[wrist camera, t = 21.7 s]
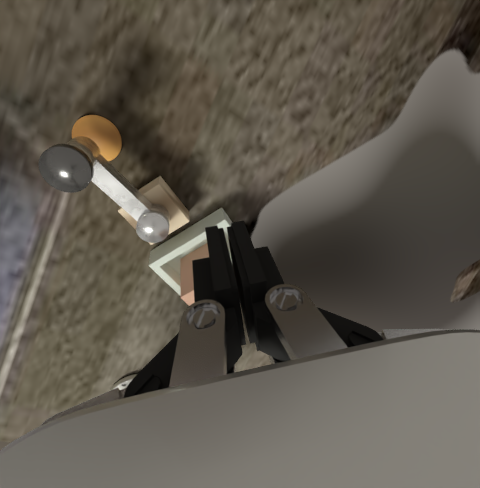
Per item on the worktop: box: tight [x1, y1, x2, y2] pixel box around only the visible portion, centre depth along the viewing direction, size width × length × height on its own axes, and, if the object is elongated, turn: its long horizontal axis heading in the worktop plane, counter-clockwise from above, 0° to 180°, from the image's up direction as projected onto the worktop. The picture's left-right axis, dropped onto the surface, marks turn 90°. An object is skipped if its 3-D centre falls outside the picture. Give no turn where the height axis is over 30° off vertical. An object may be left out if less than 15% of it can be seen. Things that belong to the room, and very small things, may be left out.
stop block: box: [180, 243, 209, 306], centre depth 39 cm, size 4×6×8 cm, turn 120°
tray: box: [149, 207, 233, 296], centre depth 41 cm, size 10×12×4 cm
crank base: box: [72, 115, 189, 245], centre depth 34 cm, size 16×6×3 cm, turn 30°
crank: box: [39, 136, 170, 243], centre depth 30 cm, size 14×4×6 cm, turn 35°
